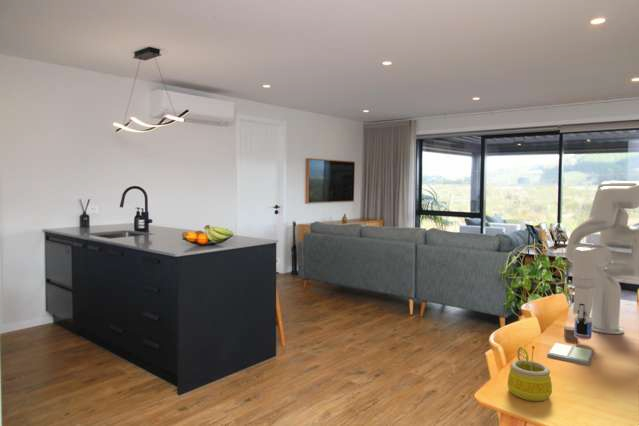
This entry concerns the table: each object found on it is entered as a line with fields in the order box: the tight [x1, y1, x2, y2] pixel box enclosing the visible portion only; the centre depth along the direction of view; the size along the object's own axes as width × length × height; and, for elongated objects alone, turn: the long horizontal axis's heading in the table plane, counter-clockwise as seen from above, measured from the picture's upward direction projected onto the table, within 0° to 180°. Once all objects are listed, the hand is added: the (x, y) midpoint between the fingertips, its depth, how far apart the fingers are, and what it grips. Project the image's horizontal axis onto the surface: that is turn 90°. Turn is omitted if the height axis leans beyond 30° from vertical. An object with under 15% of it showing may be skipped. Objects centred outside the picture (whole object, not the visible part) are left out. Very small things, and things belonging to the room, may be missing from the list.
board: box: [546, 342, 595, 366], centre depth 155 cm, size 14×12×1 cm
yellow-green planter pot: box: [507, 345, 553, 402], centre depth 125 cm, size 13×11×12 cm
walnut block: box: [563, 325, 579, 342], centre depth 172 cm, size 4×4×4 cm
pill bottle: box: [573, 312, 593, 341], centre depth 165 cm, size 6×5×10 cm
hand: (582, 331), depth 165 cm, fingers closed on pill bottle, 5 cm apart
